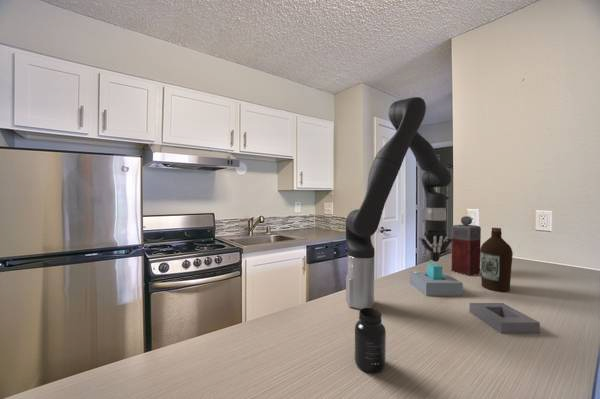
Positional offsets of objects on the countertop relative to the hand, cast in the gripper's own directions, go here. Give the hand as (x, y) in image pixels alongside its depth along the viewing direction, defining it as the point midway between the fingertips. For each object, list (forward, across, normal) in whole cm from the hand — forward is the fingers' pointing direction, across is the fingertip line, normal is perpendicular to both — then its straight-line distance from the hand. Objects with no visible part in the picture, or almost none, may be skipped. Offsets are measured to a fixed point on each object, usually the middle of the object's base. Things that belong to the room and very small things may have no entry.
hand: (435, 261), depth 105 cm
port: (+12, 0, 0) cm, 12 cm away
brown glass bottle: (+12, +26, +1) cm, 29 cm away
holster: (+12, +6, -27) cm, 30 cm away
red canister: (+12, +29, +23) cm, 39 cm away
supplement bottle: (+12, -40, -46) cm, 62 cm away
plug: (+12, 0, 0) cm, 12 cm away
